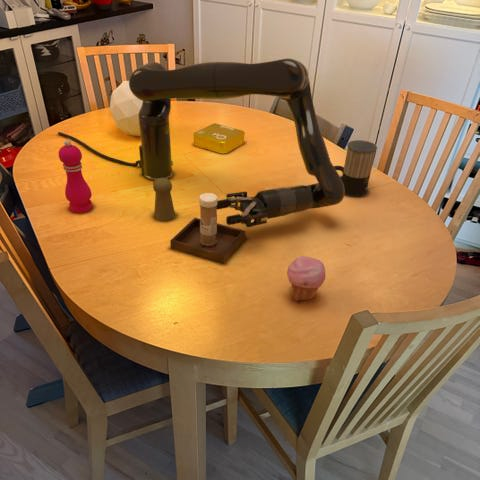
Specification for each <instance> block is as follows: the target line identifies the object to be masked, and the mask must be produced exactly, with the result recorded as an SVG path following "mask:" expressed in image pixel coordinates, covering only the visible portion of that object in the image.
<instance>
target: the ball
mask: <svg viewBox="0 0 480 480" xmlns="http://www.w3.org/2000/svg"><path fill="white" fill-rule="evenodd" d="M110 95H111V96H110V102H109V113H110V115H111V117H112V120H113V121H114V123H115V126H116V128H118V129H119V130H121V131H123V132H124V133H126V134H128V135H129V136H131V137H139V136H140V126H139V117H138V114H139V111H140V109H141V106H142V103H143V101H142V100H140V99H138V98H137V97H136V96H134V94H133V93H132V92H131V90H130V87H129V80H123V81H122V82H121V83H120V84H119V85H118V86H117V87H116V88H115V89H114V90H113V91H112V92H111V94H110ZM140 137H141V136H140Z"/></svg>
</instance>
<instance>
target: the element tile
mask: <svg viewBox="0 0 480 480" xmlns="http://www.w3.org/2000/svg"><path fill="white" fill-rule="evenodd" d="M245 133H246V132H245V131H244V130H242V129H238V128H234V127H231V126H227V125H224V124H220V123H215V122H214V123H211V124H209V125H207V126H205V127H203V128H201V129H198V130H197V131H194V132H193V136H192V137H193V145H194V146H195V147H198V148H200V149H204V150H207V151H211V152H214V153H218V154H222V155H225V154H228V153H230V152H231V151H233V150H235V149H237V148H238V147H240V146H242V145H244V144H245Z"/></svg>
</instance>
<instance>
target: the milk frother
mask: <svg viewBox="0 0 480 480" xmlns="http://www.w3.org/2000/svg"><path fill="white" fill-rule="evenodd" d="M346 146H347V150H346V154H345V160H344V166H342V165H333V166H334V167H335V169H336V171H340V172H341V173H342V175H341V176H340V178H341V179H342V182H343V184H344V189H345V194H344V195H346V196H349V197H363V196H366V194H368V189H369V188H368V187H369V182H370V179H371V174H372V173H371V172H372V169H373V165H374V161H375V158H376V154H377V150H378V146H377V145H376V144H375V143H374V142H371V141H367V140H361V139H357V140H350V141H348V142H347V144H346Z"/></svg>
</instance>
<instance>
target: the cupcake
mask: <svg viewBox="0 0 480 480" xmlns="http://www.w3.org/2000/svg"><path fill="white" fill-rule="evenodd" d="M286 275H287V278H288V282H289V283H290V285H291V290H292V291H291V293H292V295H291V296H292V298H293V300H295V301H299V302H300V301H308V300H309V301H310V300H311V299H313V298H314V297H315V295H316V294H317V292H318V289H319V288H320V287H321V286H322V285H323V284H324V282H325V280H326V268H325V265H324V263H323V262H322V261H321V260H320V259H317V258H314V257H312V256H307V255H306V256H305V255H301V256H299V257H296V258H295V259H294V260H292V261H291V262H290V263H289V264H288V267H287V271H286Z"/></svg>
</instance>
